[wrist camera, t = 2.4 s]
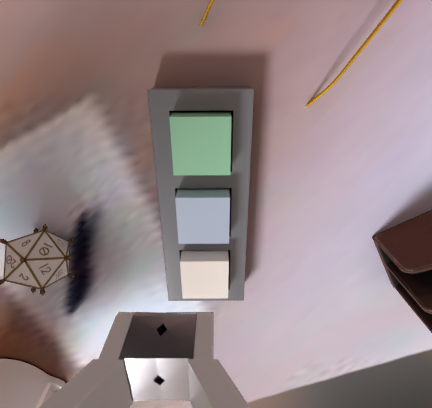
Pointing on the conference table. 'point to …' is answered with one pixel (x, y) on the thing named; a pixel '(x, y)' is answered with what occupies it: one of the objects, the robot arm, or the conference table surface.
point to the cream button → (204, 274)
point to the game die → (37, 259)
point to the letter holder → (410, 262)
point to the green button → (201, 143)
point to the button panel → (203, 177)
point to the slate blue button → (203, 215)
